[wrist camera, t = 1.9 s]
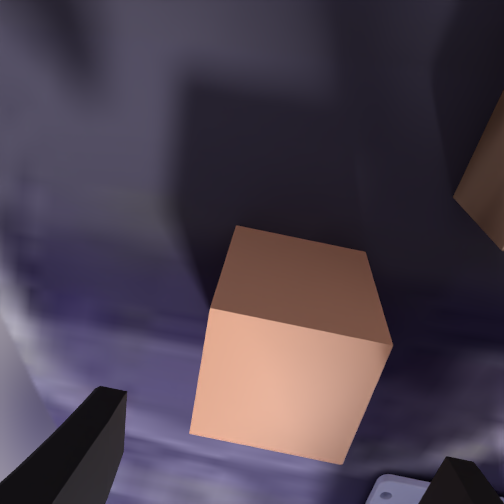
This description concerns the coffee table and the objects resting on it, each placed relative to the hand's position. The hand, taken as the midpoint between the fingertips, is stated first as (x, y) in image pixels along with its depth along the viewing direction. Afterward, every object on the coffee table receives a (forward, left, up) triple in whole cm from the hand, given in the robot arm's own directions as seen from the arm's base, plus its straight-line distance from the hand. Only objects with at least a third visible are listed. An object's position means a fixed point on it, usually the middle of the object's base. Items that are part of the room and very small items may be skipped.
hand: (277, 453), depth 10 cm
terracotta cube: (0, 0, -7) cm, 7 cm away
